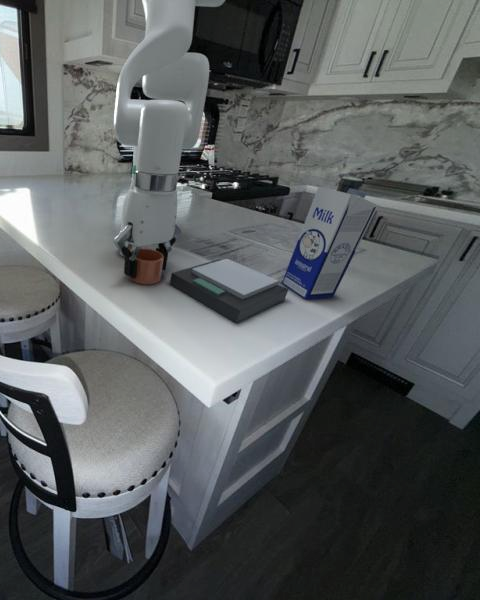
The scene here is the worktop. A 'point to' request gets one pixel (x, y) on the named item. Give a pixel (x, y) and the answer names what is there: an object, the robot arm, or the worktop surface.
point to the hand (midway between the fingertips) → (145, 271)
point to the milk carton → (328, 242)
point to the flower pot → (148, 266)
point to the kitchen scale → (229, 288)
